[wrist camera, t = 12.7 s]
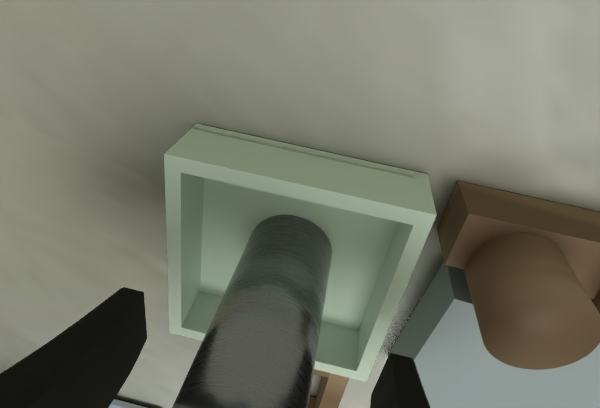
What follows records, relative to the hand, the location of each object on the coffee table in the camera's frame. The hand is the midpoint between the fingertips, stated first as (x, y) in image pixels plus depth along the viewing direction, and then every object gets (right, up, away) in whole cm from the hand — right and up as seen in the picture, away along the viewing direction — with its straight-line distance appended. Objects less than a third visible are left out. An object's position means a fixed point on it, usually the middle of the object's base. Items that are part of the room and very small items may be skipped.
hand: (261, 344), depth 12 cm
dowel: (+1, +2, +4) cm, 4 cm away
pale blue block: (+9, -1, +5) cm, 11 cm away
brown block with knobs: (+10, +3, +2) cm, 11 cm away
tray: (+1, +3, +4) cm, 5 cm away
